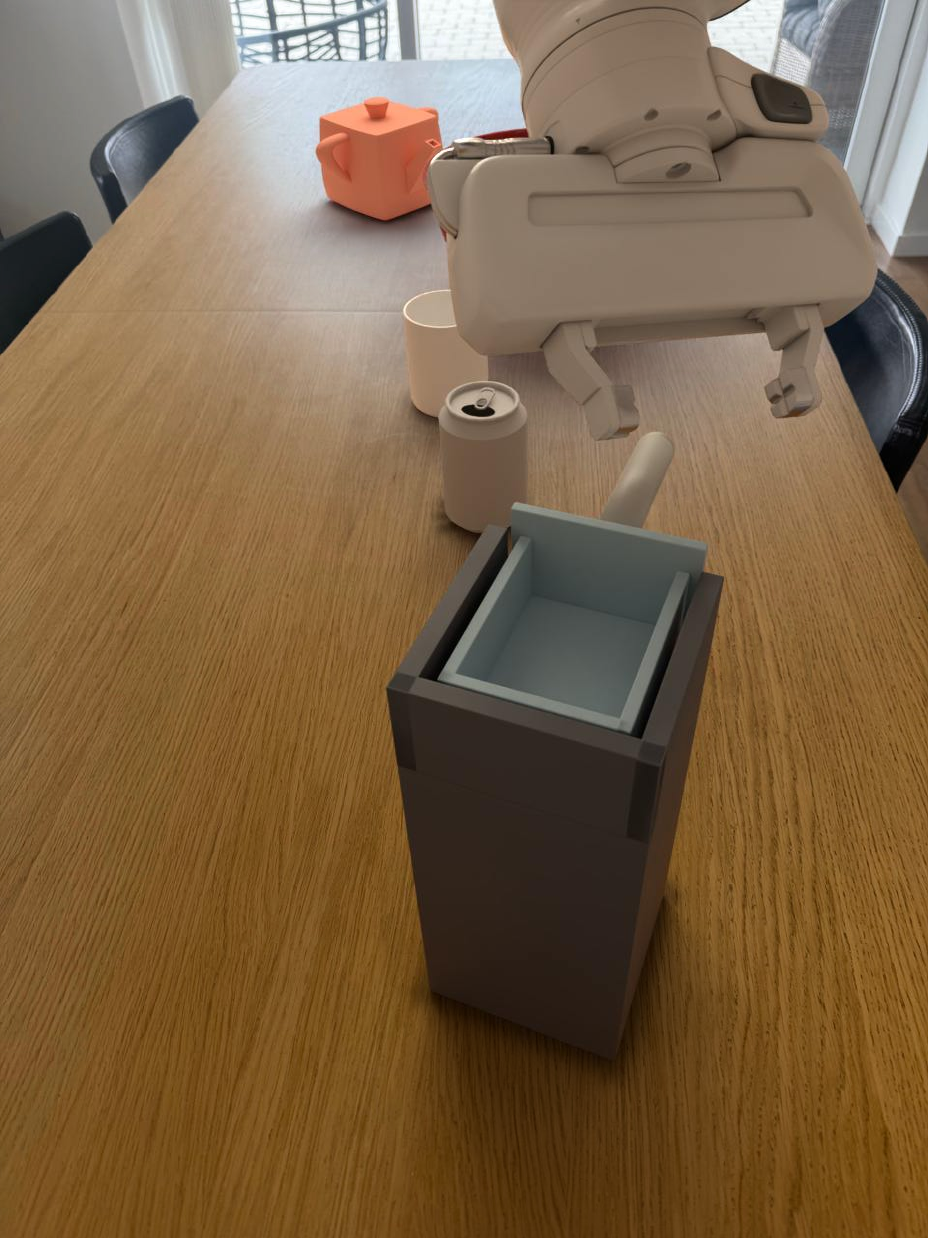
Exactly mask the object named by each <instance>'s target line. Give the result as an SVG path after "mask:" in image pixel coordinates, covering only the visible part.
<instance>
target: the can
mask: <svg viewBox="0 0 928 1238" xmlns="http://www.w3.org/2000/svg"><path fill="white" fill-rule="evenodd" d="M528 417H529V415H528V412H527V408H526V407H525V405H524V404H523V403H522V402H521V398H520V394H519V393H518V391H516V390H515V389H514V388H513V387H511V386H510V385H507V384H505V383H502V382H498V381H493V380H491V381H490V380H488V381H477V382H470V383H467V384H463V385H461V386H459V387H457V388H455V389H453V390H452V391H451V392H450V393H449V394H448V395H447V397H446V399H445V406H444V407H443V408H442V409H441V411H440V413H439V416H438V417H437V418H438V426H439V427H438V430H439V442H440V444H439V445H440V457H441V458H440V459H441V460H440V461H441V471H442V474H441V475H442V487H443V488H442V489H443V500H444V502H443V503H444V510H445V511H444V512H445V514H446V516H447V518H448V519H449V520H450V522H452V523H454V524H456V526H458V527H460V528H462V529H464V530H466V531H469V532H472V533H475V534H482V533H483V532H484V530H485V528H486V527H487V525H488V524H491V525H495V526H500V527H504V528H509V527H510V528H511V508H512V506H513V504H514V503H515V502H518V503H522V504H527V505H528V446H529V445H528V439H529V437H528V434H529V432H528V431H529V429H528V421H529V420H528Z"/></svg>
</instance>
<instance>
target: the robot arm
mask: <svg viewBox="0 0 928 1238" xmlns="http://www.w3.org/2000/svg"><path fill="white" fill-rule="evenodd" d="M491 1H492V5H493V9H494V13H495V16H496V21H497V24H498V27H499V31H500V35H501V37H502V40H503V42H504V45H505V47H506V49H507V51H508V52H509V54H510V56H511V57H512V59H513V60H514V61H515V63H516V64H517V67H518V68H519V75H520V87H519V89H520V90H519V99H520V107H521V109H520V110H521V112H522V116H523V122H524V125H525V128H526V129H527V132H528V136H529V138H509V139H503V140H483V139H481V138H472V137H462V138H458V139H455V140H453V141H452V142H451V144H450V146H451V147H450V148H449V149H446V150H443V151H441V152H440V153H438V154H437V155H436V156H435V157H434V158H433V159H432V160H431V162H430V164H429V167H428V169H427V188H428V192H429V196H430V200H431V204H430V205H431V208H432V213H433V215H434V218H435V220H436V221H437V223H438V226H439V225H440V226H441V227H442V228H443V230H444V231H446V232H447V244H446V260H447V261H446V262H447V273H448V283H449V290H450V291H451V298H452V304H453V310H454V315H455V321H456V326H457V330H458V333H459V335H460V337H461V338H462V339H463V340H464V341H465V342H466V343H467V344H468V345H469V346H470V347H472V348H473V349H474V350H475V351H476V352H477V353H478V354H480V355H483V356H488V357H489V356H490V357H491V356H501V355H514V354H525V353H536V352H538V353H539V352H543V354H544V358H545V363H546V365H547V370H548V372H549V374H550V375H551V376H552V377H553V378H554V379H555V380H556V381H557V383H559V385H560V386H561V387H562V388H563V389H564V391H566V392H567V393H568V394H569V395H570V396H571V397H572V399H574V400H575V402H576V403H577V404H578V405H579V406H582V408H583V411H584V415H585V418H586V422H587V426H588V429H589V434H590V437H591V438H592V439H593V441H595V442H602V441H609V440H617V439H625V438H627V437H629V436H630V435H631V433H632V432H635V431H636V430H637V429H638V428H639V426H640V424H641V423H640V421H641V415H640V412H639V409H638V407H636V406H635V402H636V396H635V393H634V390H633V386H632V384H628V385H626V384H625V385H615V384H614V383H613V381H612V380H611V379H610V377H608V375H607V373H606V372H605V371H604V370H603V369H602V367H601V366H600V365H599V364H598V363H597V361H596V360H595V359H594V358H593V355H591V353H592V352H593V351H594V350H595V348H596V347H610V346H622V345H632V344H633V345H634V344H646V343H655V342H656V343H657V342H669V341H670V342H671V341H681V340H692V339H693V340H694V339H705V338H717V337H728V336H742V335H754V334H755V335H756V334H765V333H766V337H767V340H768V344H769V347H770V350H771V351H772V352H780V351H781V359H780V366H779V371H778V376H777V377H776V378H775V379H772V380H771V381H769V382H768V383H767V384H765V385H764V386H763V388H764V391H765V394H766V398H767V401H768V402H769V403H770V404H771V406H770V411H771V415H772V417H774V418H775V419H788V418H799V417H805V416H807V415H809V414H810V413H811V412H813V411H814V410H816V409H818V408H819V407H820V406H821V403H822V400H823V395H822V392H821V388H820V385H819V384H820V383H819V381H818V378H817V373H816V371H815V367H816V365H817V360H818V357H819V353H820V348H821V344H822V339H823V335H824V332H825V331H824V330H825V328H828V327H831V326H832V325H834V324H836V323H837V322H839V321H840V320H841V319H843V318H844V317H845V316H847V315H849V314H850V313H852V312H853V310H855V309H856V308H858V307H859V306H860V305H861V304H863V303H864V302H865V301H866V300H868V298H870V296H871V294H872V292H873V290H874V287H875V284H876V281H877V277H878V272H879V271H878V261H877V258H876V257H877V256H876V252H875V250H874V245H873V241H872V239H871V235H870V232H869V229H868V226H867V222H866V219H865V216H864V213H863V211H862V208H861V205H860V202H859V199H858V197H857V194H856V191H855V189H854V187H853V183H852V181H851V179H850V177H849V175H848V173H847V171H846V168H845V167H844V165H843V164H842V163H841V161H840V160H839V158H838V157H837V156H836V155H835V154H834V153H833V152H832V151H831V150H830V149H828V148H827V147H825V146H823V145H822V144H820V143H817V142H818V141H819V140H820V139H821V138H822V136H823V135H824V134H825V133H826V131H827V130H828V128H829V127H830V116H829V113H828V109H827V107H826V103H825V101H824V99H823V97H822V96H821V95H820V94H819V93H818V92H817V91H816V90H814V89H812V88H811V87H808V86H806V85H803V84H800V83H796V82H794V81H791V80H788V79H785V78H783V77H781V76H780V77H779V76H777V75H774V74H772V73H770V72H767V71H765V70H763V69H760V68H758V67H756V66H754V65H752V64H750V63H748V62H747V61H744V60H743V59H741V58H739V57H737V56H736V55H734V54H733V53H731V52H730V51H728V50H726V49H724V48H721V47H718V46H713V45H712V43H711V39H710V35H709V31H708V23H710V22H714V21H717V20H720V19H721V18H724V17H726V16H728V15H729V14H732V13H733V12H736V11H737V10H738V9H740V8H741V7H744V5H746V4H747V3H749V2H750V1H751V0H491ZM449 159H451V160H449ZM440 226H439V227H440Z"/></svg>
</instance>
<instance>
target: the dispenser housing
mask: <svg viewBox="0 0 928 1238" xmlns="http://www.w3.org/2000/svg"><path fill="white" fill-rule="evenodd" d="M508 528H509V527H508ZM508 528H504V527H500V526H495V525H491V524H488V525H487V527H486V528H485V530H484V532H483V533H481V535H480V537H479V538H478V540H477V541H476V543H475V544H474V546H473V547H472V549H471V551H470V552H469V554H468V555H467V557H466V558H465V560H464V561H463V563H462V564H461V567H460V568H459V570H458V571H457V573H456V574H455V576H454V578H453V579H452V581H451V582H450V584H449V586H448V587H447V589H446V591H445V592H444V593H443V596H442V597H441V599H440V600H439V601H438V603H437V605H436V606H435V608H434V610H433V611H432V613H431V614H430V616H429V618H428V619H427V621H426V622H425V624H424V625H423V627H422V628H421V630H420V632H419V634H418V635H417V637H416V638H415V640H414V642H413V643H412V645H411V647H410V648H409V650H408V651H407V653H406V654H405V656H404V657H403V659H402V660H401V662H400V664H399V665H398V667H397V669H396V670H395V672H394V673H393V675H392V677H391V678H390V680H389V681H388V683H387V685H386V686H385V692H386V699H387V707H388V713H389V720H390V726H391V734H392V740H393V746H394V751H395V752H394V753H395V761H396V766H397V774H398V778H399V779H398V780H399V787H400V794H401V800H402V808H403V814H404V821H405V828H406V835H407V842H408V849H409V856H410V863H411V868H412V876H413V883H414V889H415V896H416V902H417V911H418V917H419V924H420V931H421V937H422V944H423V951H424V959H425V965H426V966H425V967H426V972H427V973H426V974H427V980H428V985H429V991H431V992H433V993H436V994H438V995H440V996H443V997H446V998H448V999H451V1000H453V1001H456V1002H459V1003H461V1004H464V1005H467V1006H469V1007H471V1008H474V1009H476V1010H480V1011H481V1012H485V1013H487V1014H490V1015H492V1016H495V1017H498V1018H499V1019H503V1020H505V1021H508V1022H511V1023H512V1024H516V1025H518V1026H521V1027H522V1028H526V1029H528V1030H531V1031H534V1032H537V1033H539V1034H541V1035H544V1036H546V1037H549V1038H551V1039H554V1040H557V1041H559V1042H562V1043H564V1044H567V1045H570V1046H573V1047H575V1048H577V1049H580V1050H582V1051H585V1052H588V1053H591V1054H594V1055H595V1056H598V1057H601V1058H603V1059H606V1060H608V1061H611V1062H615V1061H616V1058H617V1054H618V1051H619V1048H620V1045H621V1041H622V1038H623V1034H624V1030H625V1027H626V1024H627V1021H628V1017H629V1014H630V1010H631V1006H632V1004H633V1000H634V997H635V994H636V990H637V987H638V983H639V980H640V977H641V974H642V971H643V967H644V962H645V959H646V957H647V953H648V949H649V946H650V944H651V940H652V936H653V934H654V933H653V932H654V929H655V925H656V923H657V919H658V916H659V912H660V909H661V906H662V903H663V899H664V896H665V890H666V887H667V886H666V885H667V881H668V875H669V870H670V865H671V860H672V855H673V850H674V846H675V845H674V844H675V838H676V833H677V828H678V822H679V818H680V813H681V808H682V802H683V797H684V791H685V787H686V781H687V776H688V771H689V765H690V760H691V754H692V749H693V744H694V739H695V733H696V729H697V723H698V718H699V713H700V707H701V704H702V703H701V702H702V697H703V692H704V688H705V687H704V686H705V681H706V677H707V671H708V667H709V666H708V665H709V660H710V655H711V650H712V645H713V640H714V635H715V629H716V624H717V618H718V613H719V608H720V604H721V598H722V592H723V587H724V581H725V576H724V575H719V574H716V573H710V572H708V571H707V572H706V571H704V572H702V573H701V575H700V578H699V581H698V583H697V586H696V589H695V592H694V595H693V597H692V600H691V603H690V606H689V608H688V611H687V614H686V617H685V620H684V622H683V625H682V628H681V631H680V634H679V636H678V639H677V642H676V645H675V648H674V650H673V653H672V656H671V659H670V662H669V664H668V667H667V670H666V673H665V675H664V678H663V681H662V684H661V687H660V689H659V692H658V695H657V698H656V701H655V703H654V706H653V709H652V712H651V715H650V717H649V720H648V723H647V726H646V728H645V731H644V734H643V737H642V739H638V738H634V737H631V736H627V735H624V734H620V733H617V732H613V731H609V730H606V729H602V728H599V727H595V726H592V725H588V724H584V723H581V722H577V721H574V720H570V719H567V718H563V717H559V716H556V715H552V714H549V713H545V712H542V711H538V710H534V709H531V708H527V707H524V706H520V705H517V704H513V703H509V702H506V701H502V700H499V699H495V698H492V697H488V696H484V695H481V694H477V693H474V692H470V691H467V690H463V689H459V688H456V687H452V686H449V685H445V684H442V683H438V682H437V679H438V677H439V675H440V674H441V672H442V670H443V669H444V667H445V665H446V663H447V662H448V660H449V658H450V657H451V655H452V653H453V651H454V650H455V648H456V646H457V644H458V643H459V641H460V639H461V638H462V636H463V634H464V632H465V631H466V629H467V627H468V626H469V624H470V622H471V620H472V619H473V617H474V615H475V614H476V612H477V610H478V608H479V607H480V605H481V603H482V601H483V600H484V598H485V596H486V595H487V593H488V591H489V589H490V588H491V586H492V584H493V583H494V581H495V579H496V577H497V576H498V574H499V572H500V570H501V569H502V567H503V565H504V564H505V562H506V560H507V558H508V557H509V529H508Z"/></svg>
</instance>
